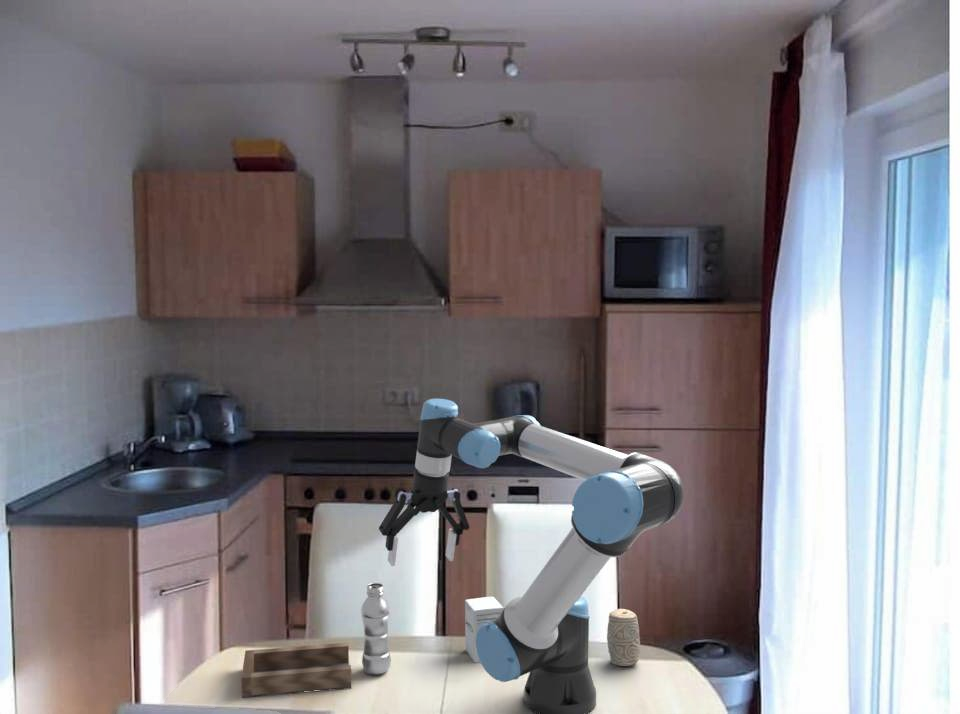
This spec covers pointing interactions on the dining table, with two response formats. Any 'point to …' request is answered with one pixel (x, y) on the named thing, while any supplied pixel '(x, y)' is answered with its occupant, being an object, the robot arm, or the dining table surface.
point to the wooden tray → (295, 669)
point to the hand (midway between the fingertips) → (420, 560)
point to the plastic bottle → (375, 631)
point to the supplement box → (478, 620)
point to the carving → (623, 637)
